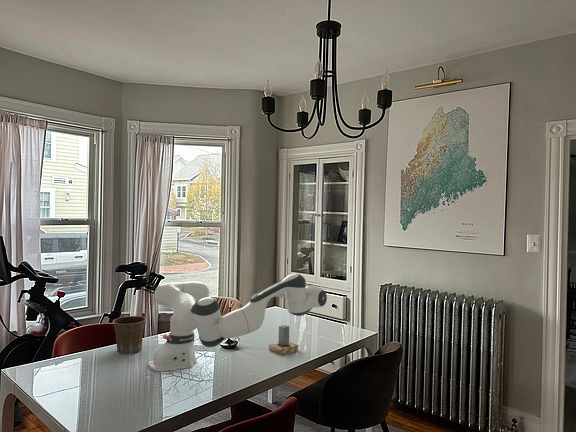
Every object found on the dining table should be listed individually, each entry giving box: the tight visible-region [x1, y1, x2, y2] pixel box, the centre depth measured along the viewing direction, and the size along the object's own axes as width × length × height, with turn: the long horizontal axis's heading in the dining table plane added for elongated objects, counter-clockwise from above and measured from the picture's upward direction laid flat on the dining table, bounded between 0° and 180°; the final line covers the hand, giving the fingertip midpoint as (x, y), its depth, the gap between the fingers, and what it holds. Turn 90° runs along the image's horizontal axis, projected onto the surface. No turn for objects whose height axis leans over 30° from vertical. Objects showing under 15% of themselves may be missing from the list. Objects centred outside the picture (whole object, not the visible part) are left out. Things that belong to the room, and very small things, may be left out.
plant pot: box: [112, 315, 147, 355], centre depth 234 cm, size 16×16×16 cm
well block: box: [268, 341, 299, 356], centre depth 238 cm, size 12×10×3 cm
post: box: [277, 324, 290, 347], centre depth 238 cm, size 4×4×13 cm
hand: (281, 288), depth 222 cm, fingers open, 8 cm apart
